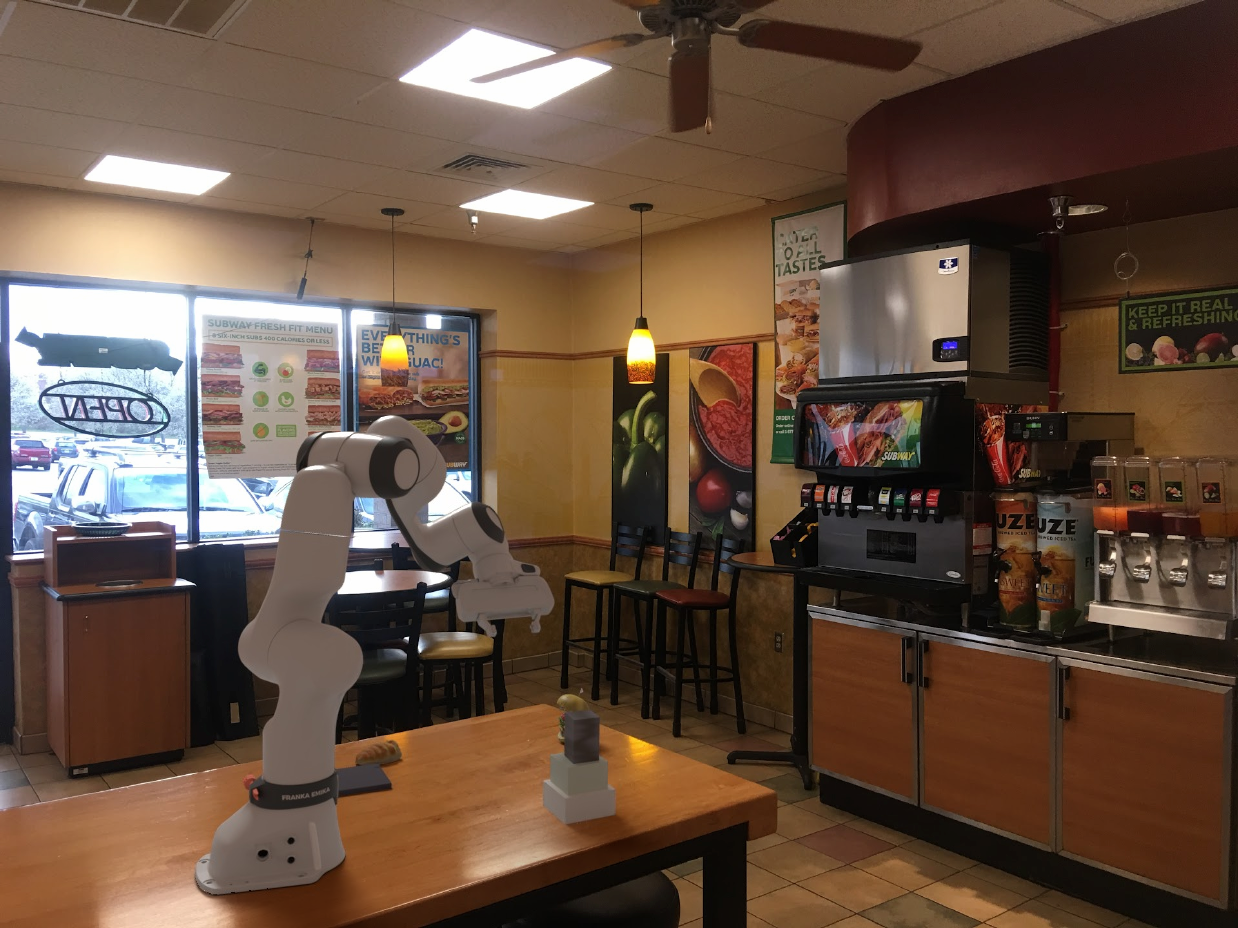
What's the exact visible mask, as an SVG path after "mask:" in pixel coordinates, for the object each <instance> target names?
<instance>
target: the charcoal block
mask: <svg viewBox="0 0 1238 928" xmlns="http://www.w3.org/2000/svg"><path fill="white" fill-rule="evenodd" d="M564 713H565V726H564V728H565V737H564V743H563V745H564V749H563V753H564V755H565V756H566V757H567V758H568V759H569V760H570V761H571V762H572V763H573V764H576V763H584V762H592V761H599V756H600V737H601V735H600V729H601V728H600V727H601V724H600V721H601V717H600V716H599V715H598V714H596V713H595V712H593V710H591V709H589V710H584V711H574V712H572V711H571V712H569V711H566V712H564Z"/></svg>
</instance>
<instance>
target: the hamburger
mask: <svg viewBox="0 0 1238 928" xmlns="http://www.w3.org/2000/svg"><path fill="white" fill-rule="evenodd" d="M581 693H584V690H583V688H582V687H581V688H580V691H579V695H578V696H577V695H575V694H568V693H567V694H563V695H561V696H560V697H559V698H558V699H557V701H556V704H557V705H558V706H559V711H560V712H562V711H563V712H562V713H561V714H560V715H559V716H558V718H557V720H559V721H558V722H559V723H558V727H559V732H558V733H557V739H558V740H559V742H561V743H563V744H564V737H565V711H566V710H567V711H568V712H574V711H584V710H590V708H589V705H588V703H587V702H586V701H585V700H584V699H583V698H581V697H580V695H581Z"/></svg>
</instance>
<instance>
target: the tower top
mask: <svg viewBox="0 0 1238 928" xmlns="http://www.w3.org/2000/svg"><path fill="white" fill-rule="evenodd" d="M549 759H550V760H549V762H550V764H549V765H550V766H549V779H550V782H552V783H553V784H554V785H555V786H557V787H558V788H559V789H560V790H562V791H563V792H564V793H565V794H567V795H574V794H579V793H585V792H591V791H596V790H602V789H608V784H609V761H608V760H607V759H605V758H604V757H602V756H601V755H599V761H592V762H584V763H576V764H573V763H572V762H571V761H570V760H569V759H568V758H567V757H566V756H565V755H564V752H558V753H552V754H550V755H549Z"/></svg>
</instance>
